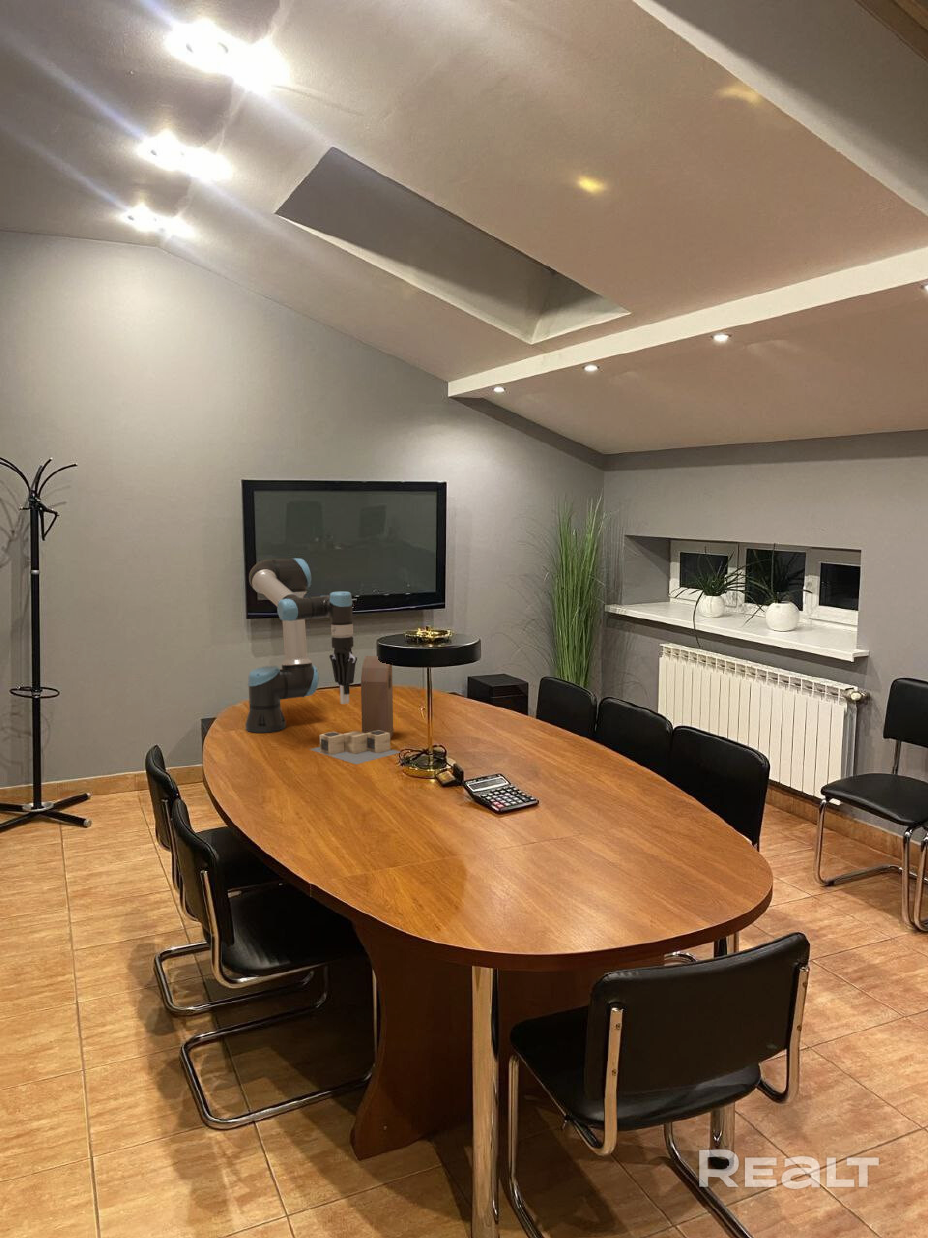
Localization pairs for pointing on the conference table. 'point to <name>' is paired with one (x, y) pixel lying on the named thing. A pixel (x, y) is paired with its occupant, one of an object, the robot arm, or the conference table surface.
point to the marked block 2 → (378, 741)
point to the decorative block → (376, 696)
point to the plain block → (355, 742)
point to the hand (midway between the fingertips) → (345, 703)
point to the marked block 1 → (331, 743)
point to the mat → (359, 755)
